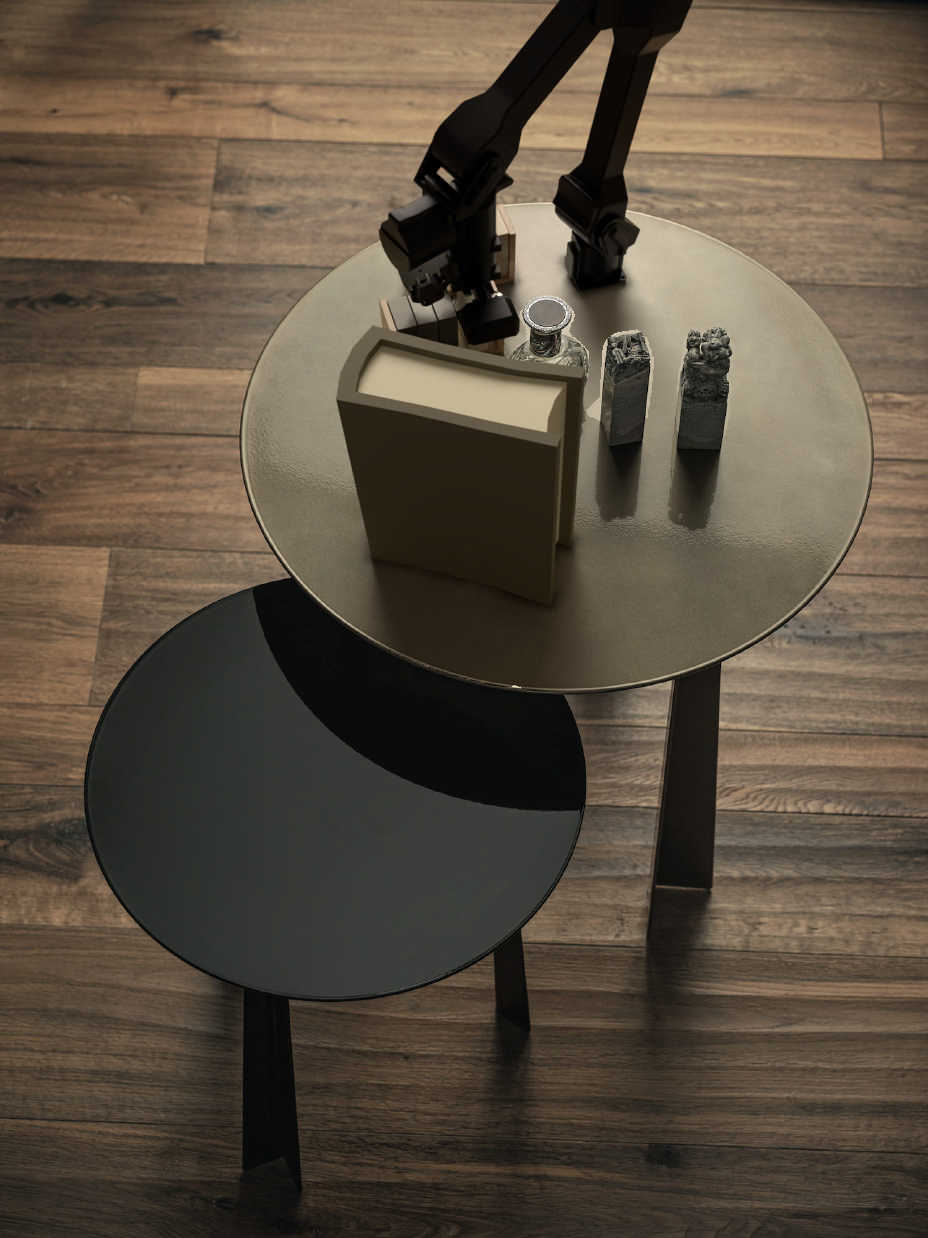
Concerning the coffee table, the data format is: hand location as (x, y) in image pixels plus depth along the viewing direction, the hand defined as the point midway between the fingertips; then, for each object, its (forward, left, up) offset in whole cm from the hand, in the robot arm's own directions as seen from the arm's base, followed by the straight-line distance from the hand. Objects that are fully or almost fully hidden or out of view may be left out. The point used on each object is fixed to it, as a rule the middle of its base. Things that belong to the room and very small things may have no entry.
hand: (472, 327), depth 135 cm
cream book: (0, 0, -2) cm, 2 cm away
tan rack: (+4, 0, -2) cm, 5 cm away
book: (+9, +29, -3) cm, 30 cm away
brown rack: (-2, -11, -2) cm, 12 cm away
